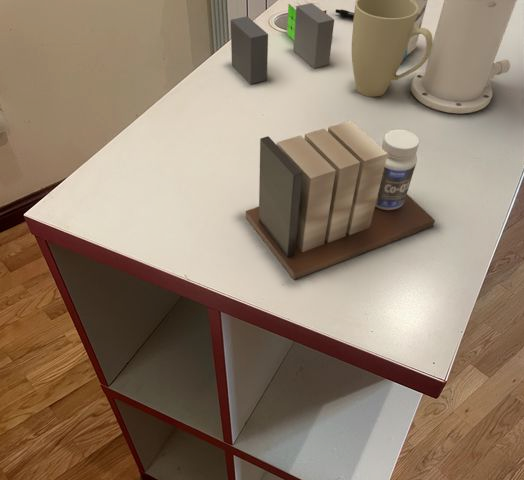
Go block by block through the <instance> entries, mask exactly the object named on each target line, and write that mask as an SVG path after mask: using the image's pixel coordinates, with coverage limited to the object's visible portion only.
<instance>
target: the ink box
mask: <svg viewBox="0 0 524 480" xmlns="http://www.w3.org/2000/svg"><path fill="white" fill-rule="evenodd" d="M413 1H414V2H415V3H416V4H417V5H418V8H419V9H418V13H417V17H416V20H415V24H414V27H413V28H422V25H423V20H424V16H425V13H426V8H427V4H428V0H413ZM419 36H420V34H416V35H414V36H412V37H411V38H410V40H409V43H408V46H407V49H406V52H405V55H404V57H403V60H404V59H405V58H406V57H407V56H409V54H411V53H412V52H413V51H414V50H415V49H416V48H417V44H418V40H419Z"/></svg>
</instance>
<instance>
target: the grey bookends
mask: <svg viewBox="0 0 524 480" xmlns="http://www.w3.org/2000/svg"><path fill="white" fill-rule="evenodd" d="M334 26H335V18H333V17H332V16H330V15H329V14H328V13H327V12H326V13H325V12H323V11H322V10H321V9H319V8H318V7H317V6H315V5H314V4H312V3H309V4H304V5H300V6H296V19H295V34H294V40H293V49H292V50H293V53H295V54H296V55H298V56H299V57H300V58H301V59H302V60H303V61H304V62H306V63H307V64H308V66H310V67H311V68H312V69H318V68H321V67H326V66H329V65H330V60H331V51H332V44H333V43H332V42H333V35H334ZM230 45H231V47H230V48H231V50H230V51H231V66H232V67H233V68H234V69H235V70H236V71H237V72H238V73H239V74H240V75H241V76H242V77H243V79H245V81H247V82H248V83H249V84H250V85H255V84H258V83H262V82H266V81H268V56H269V54H268V52H269V33H268V32H267V31H266V30H264V29H263V28H261V26H259V25H258V24H257V23H256V22H255V21H254V20H253V19H251V18H250V17H249V16H243V17H236V18H233V19H230Z"/></svg>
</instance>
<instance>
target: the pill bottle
mask: <svg viewBox="0 0 524 480" xmlns="http://www.w3.org/2000/svg"><path fill="white" fill-rule="evenodd" d="M419 144H420V139H419V137H418V136H417V134H415V133H414V132H411V131H410V130H405V129H392V130H389V131H387V132H386V133H385V134H384V136H383V140H382V144H381V148H382V149H383V150H384V151H386V152H387V153H388V155H387V159H386V163H385V167H384V171H383V176H382V180H381V184H380V188H379V192H378V196H377V200H376V204H375V207H377V208H379V209H382V210H394V209H397V208H399V207H401V206H402V205H403V203H404V201H405V198H406V195H408V191H409V188H410V186H411V181H412V178H413V175H414V172H415V168H416V166H417V163H418V162H417V161H418V157H417V152H418V148H419Z"/></svg>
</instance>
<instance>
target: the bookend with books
mask: <svg viewBox="0 0 524 480" xmlns="http://www.w3.org/2000/svg"><path fill="white" fill-rule="evenodd" d="M387 155H388V153H387V152H386V151H384V150H383V149H382V146H380V145H379V144H378V143H376V141H374V140H373V138H371V137H370V136H368V134H367V133H365V131H363V130H362V129H361V128H360V127H359V126H357V124H355V123H354V122H353V121H352V120H348V121H345V122H342V123H337V124H334V125H331V126H328V128H327V130H326V128H321V129H317V130H313V131H310V132H306V133H304V137H303V136H302V135H296V136H294V137H289V138H287V139H283V140H281V141H277V142H276V143H275V141H273V140H272V138H271V137H270V136H269V135H267V136H264V137H261V138H260V139H259V185H258V186H259V189H258V206H256V207H254V208H251V209H248V210H245V218H246V220H247V221H248V222H249V224H250V225H251V226H252V228H253V229H254V230H255V231H256V233H257V234H258V235H259V236H260V238H261V240H262V241H263V242H264V243H265V244H266V246H267V247H268V248H269V250H270V251H271V252H272V254H273V255H274V256H275V258H276V259H277V260H278V261H279V263H280V264H281V265H282V266H283V268H284V270H286V272H287V273H288V274H289V275H290V278H292V279H293V280H297V279H300V278H303V277H305V276H307V275H310V274H314V273H315V272H318V271H320V270H323V269H325V268H328V267H331V266H333V265H336V264H338V263H341V262H344V261H346V260H349V259H351V258H354V257H357V256H359V255H362V254H364V253H367V252H369V251H372V250H376V249H379V248H380V247H382V246H385V245H388V244H390V243H394V242H396V241H398V240H401V239H403V238H406V237H409V236H411V235H414V234H416V233H419V232H423V231H424V230H427V229H430V228H433V226H434V224H435V221H436V220H435V219H434V217H432V216H431V215H430V214H429V213H428V212H427V211H426V210H425V209H424V208H423V207H421V205H419V204H418V203H417V202H416V201H415V200H414V199H413V198H412V197H411V196H410V195H408V194H407V195H406V198H405V201H404V203H403V205H402V206H401V207H399V208H397V209H394V210H382V209H379V208H377V207H375V204H376V200H377V196H378V192H379V188H380V184H381V180H382V176H383V171H384V167H385V163H386V159H387Z"/></svg>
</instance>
